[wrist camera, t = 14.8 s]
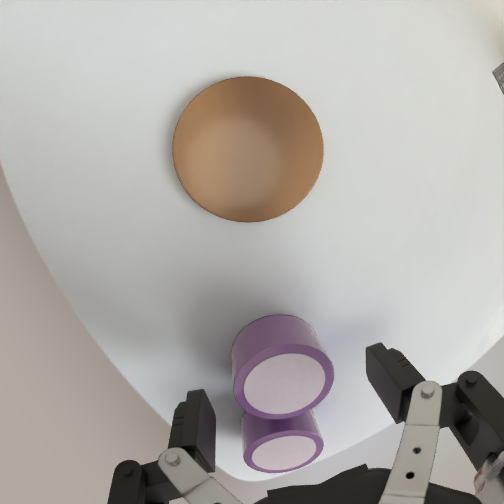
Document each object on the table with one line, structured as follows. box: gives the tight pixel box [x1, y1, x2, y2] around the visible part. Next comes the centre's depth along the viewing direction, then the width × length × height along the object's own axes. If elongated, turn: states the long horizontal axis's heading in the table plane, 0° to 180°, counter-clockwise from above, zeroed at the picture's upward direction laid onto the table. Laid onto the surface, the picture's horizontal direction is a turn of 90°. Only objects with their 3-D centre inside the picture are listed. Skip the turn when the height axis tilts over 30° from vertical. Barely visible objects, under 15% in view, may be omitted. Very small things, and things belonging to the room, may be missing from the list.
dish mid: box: [232, 315, 334, 419], centre depth 14 cm, size 5×5×3 cm
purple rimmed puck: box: [241, 409, 324, 473], centre depth 16 cm, size 5×5×3 cm
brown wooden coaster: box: [173, 77, 324, 222], centre depth 13 cm, size 7×7×1 cm
